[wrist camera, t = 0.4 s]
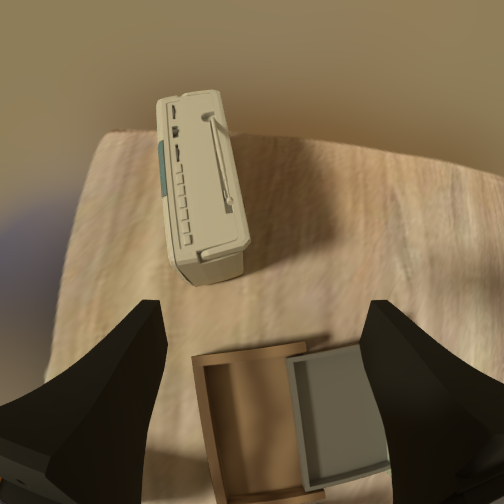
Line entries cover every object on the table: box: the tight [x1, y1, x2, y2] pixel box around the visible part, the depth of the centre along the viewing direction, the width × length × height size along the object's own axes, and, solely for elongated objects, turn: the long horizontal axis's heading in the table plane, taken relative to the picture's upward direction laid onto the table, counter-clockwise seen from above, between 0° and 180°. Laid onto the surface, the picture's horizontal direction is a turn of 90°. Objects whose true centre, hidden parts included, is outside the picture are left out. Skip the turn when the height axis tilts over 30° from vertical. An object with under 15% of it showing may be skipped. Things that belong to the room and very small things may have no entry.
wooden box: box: [191, 341, 325, 504], centre depth 34 cm, size 13×21×4 cm, turn 8°
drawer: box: [285, 343, 391, 492], centre depth 34 cm, size 14×21×4 cm
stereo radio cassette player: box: [156, 90, 251, 287], centre depth 35 cm, size 21×8×20 cm, turn 11°
